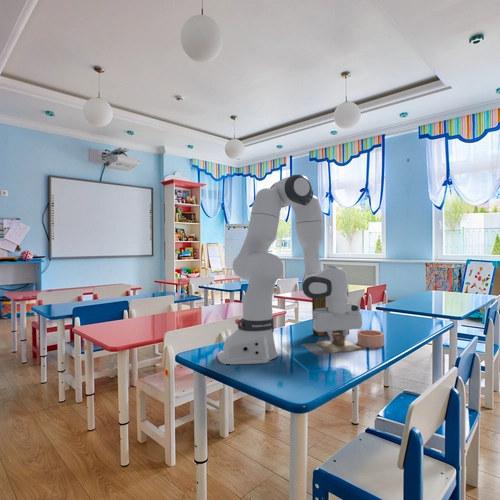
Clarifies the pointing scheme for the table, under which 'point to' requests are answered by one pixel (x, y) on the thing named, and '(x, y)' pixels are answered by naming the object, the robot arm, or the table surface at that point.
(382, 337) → the bowl
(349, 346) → the board
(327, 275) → the robot arm
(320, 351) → the mat
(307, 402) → the table surface
